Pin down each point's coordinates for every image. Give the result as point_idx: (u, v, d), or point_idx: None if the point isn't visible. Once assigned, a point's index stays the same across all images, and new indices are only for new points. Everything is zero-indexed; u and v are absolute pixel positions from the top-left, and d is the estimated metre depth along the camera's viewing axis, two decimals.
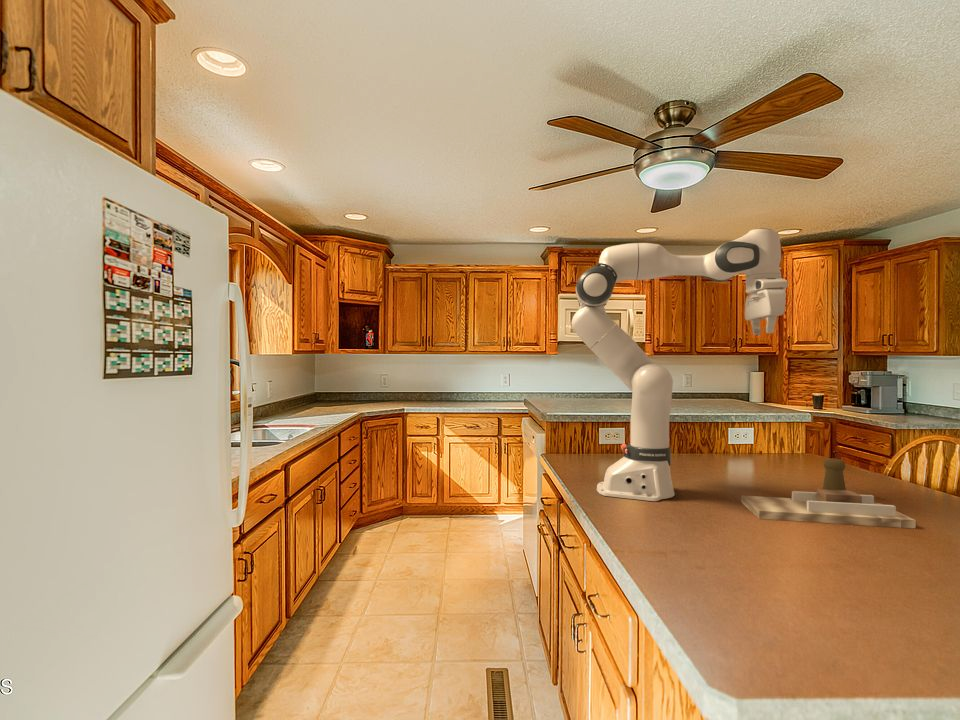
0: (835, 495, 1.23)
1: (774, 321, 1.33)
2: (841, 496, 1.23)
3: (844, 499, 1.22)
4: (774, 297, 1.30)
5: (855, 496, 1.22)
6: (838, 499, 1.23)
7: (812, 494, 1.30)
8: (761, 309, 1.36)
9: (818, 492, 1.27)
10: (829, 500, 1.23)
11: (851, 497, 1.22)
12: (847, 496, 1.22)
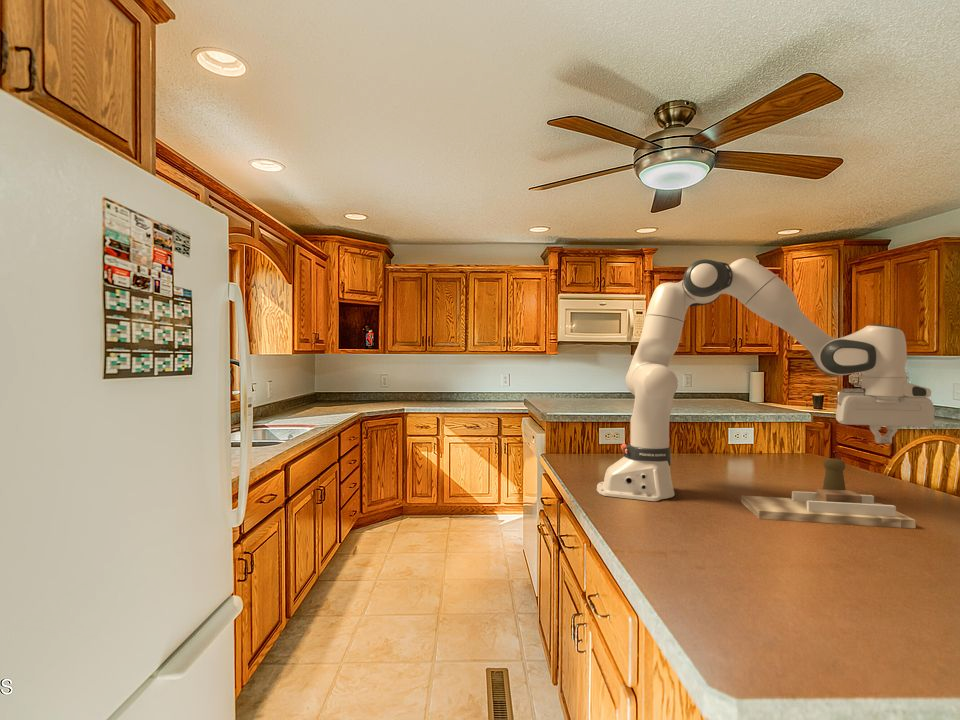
0: (835, 495, 1.23)
1: None
2: (841, 496, 1.23)
3: (844, 499, 1.22)
4: None
5: (855, 496, 1.22)
6: (838, 499, 1.23)
7: (812, 494, 1.30)
8: (905, 417, 1.20)
9: (818, 492, 1.27)
10: (829, 500, 1.23)
11: (851, 497, 1.22)
12: (847, 496, 1.22)
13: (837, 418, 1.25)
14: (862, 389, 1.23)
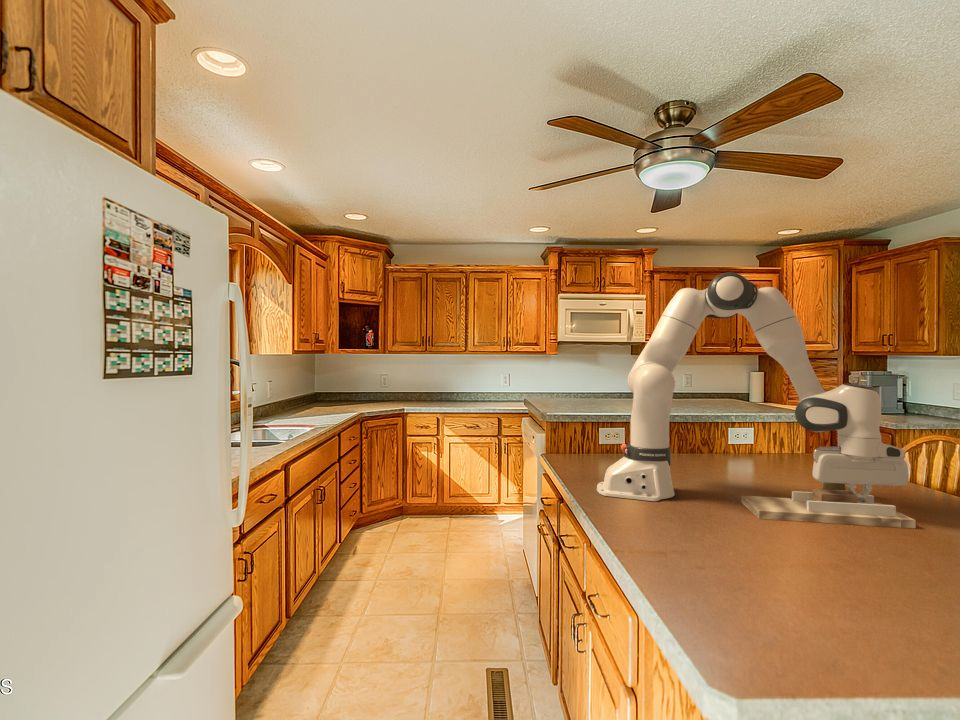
0: (830, 495, 1.23)
1: None
2: (836, 496, 1.23)
3: (839, 499, 1.23)
4: None
5: (850, 496, 1.22)
6: (833, 499, 1.23)
7: None
8: (880, 477, 1.21)
9: (814, 492, 1.27)
10: (825, 499, 1.23)
11: (846, 497, 1.22)
12: (842, 496, 1.23)
13: (813, 475, 1.27)
14: (838, 447, 1.25)
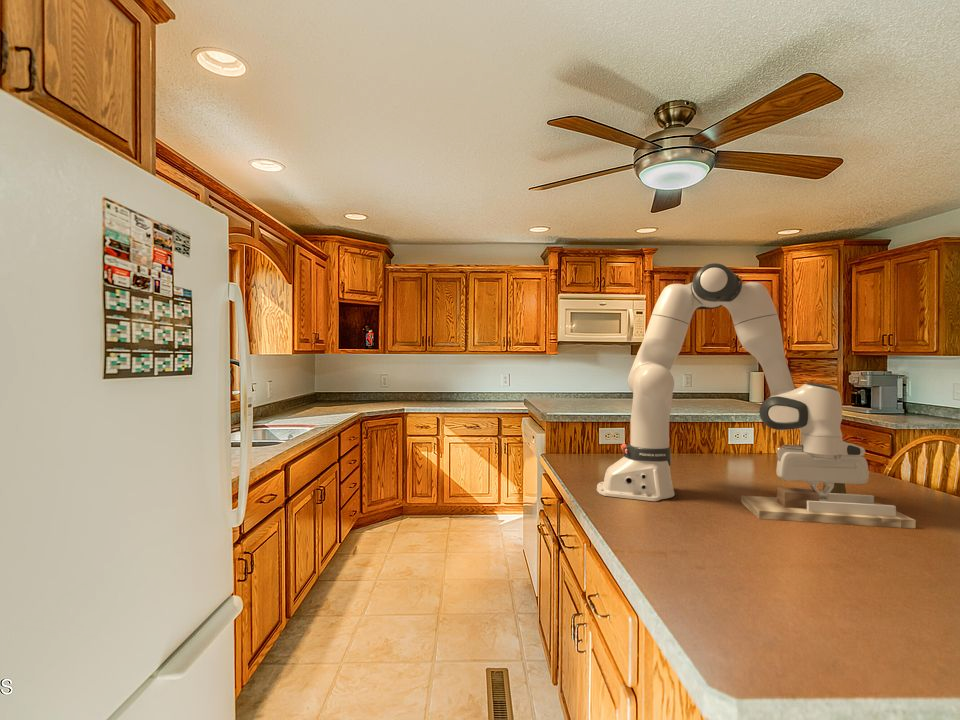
0: (793, 493, 1.25)
1: None
2: (799, 494, 1.25)
3: (802, 497, 1.24)
4: None
5: (813, 494, 1.24)
6: (796, 497, 1.25)
7: None
8: (841, 475, 1.23)
9: (778, 490, 1.29)
10: (788, 498, 1.25)
11: (809, 495, 1.24)
12: (805, 494, 1.24)
13: (777, 473, 1.28)
14: (800, 446, 1.26)
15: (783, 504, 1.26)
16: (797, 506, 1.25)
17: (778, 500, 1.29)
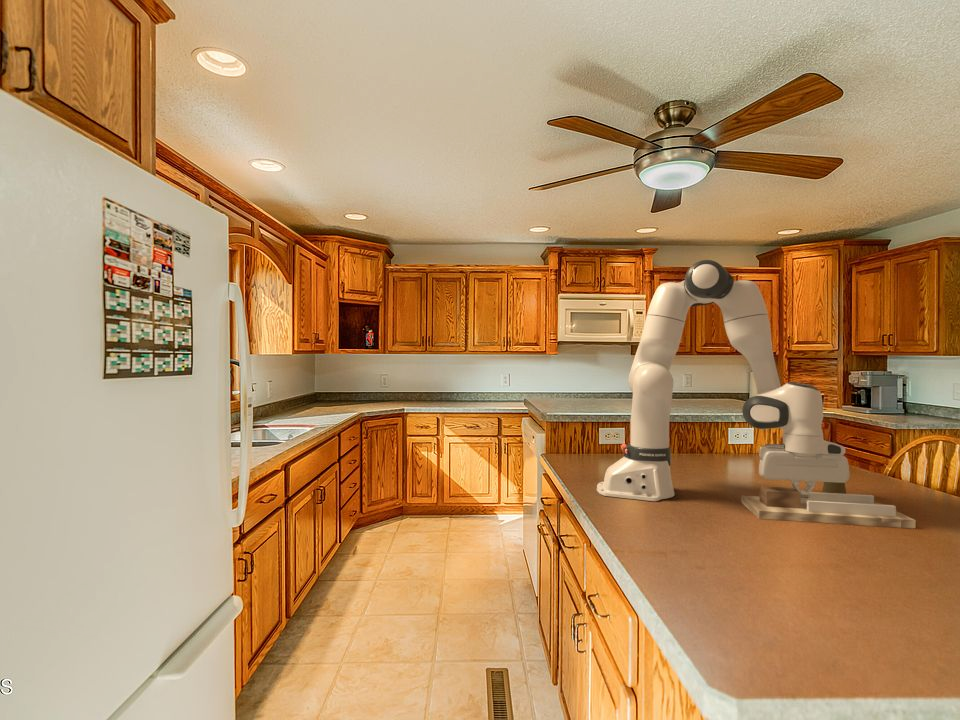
0: (775, 492, 1.26)
1: None
2: (781, 493, 1.25)
3: (784, 496, 1.25)
4: None
5: (794, 493, 1.25)
6: (778, 496, 1.25)
7: (812, 494, 1.30)
8: (822, 473, 1.24)
9: (760, 489, 1.30)
10: (770, 497, 1.26)
11: (790, 494, 1.25)
12: (787, 493, 1.25)
13: (759, 472, 1.29)
14: (782, 445, 1.27)
15: (765, 503, 1.27)
16: (779, 505, 1.25)
17: (761, 499, 1.30)
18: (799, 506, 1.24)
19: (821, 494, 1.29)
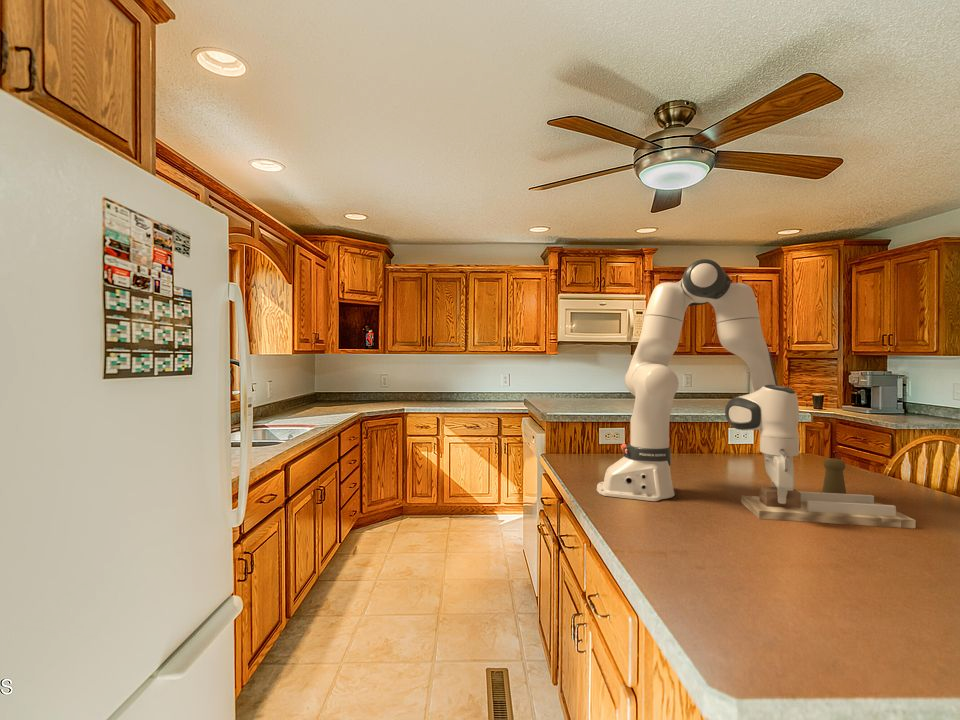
0: (775, 492, 1.26)
1: None
2: None
3: None
4: None
5: (794, 493, 1.25)
6: None
7: (812, 494, 1.30)
8: None
9: (760, 489, 1.30)
10: (770, 497, 1.26)
11: (790, 494, 1.25)
12: None
13: (783, 485, 1.19)
14: (784, 451, 1.23)
15: (765, 503, 1.27)
16: (779, 505, 1.25)
17: (760, 499, 1.30)
18: (799, 506, 1.24)
19: (821, 494, 1.29)
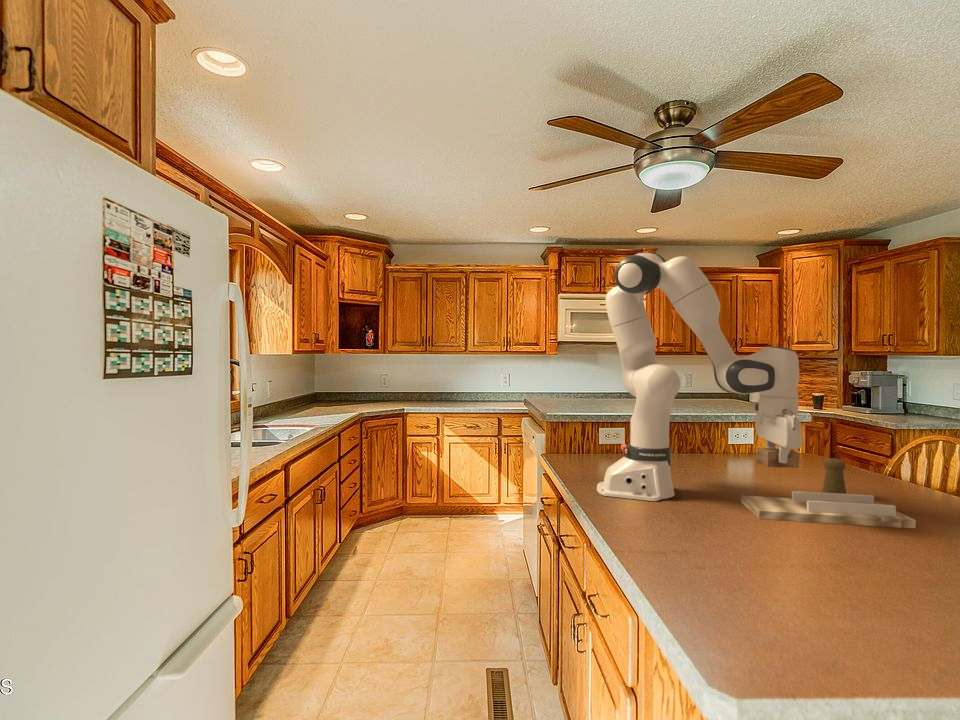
0: (776, 452, 1.26)
1: None
2: None
3: None
4: None
5: (793, 453, 1.26)
6: None
7: (812, 494, 1.30)
8: None
9: (759, 451, 1.30)
10: (771, 457, 1.26)
11: (790, 454, 1.26)
12: None
13: (791, 444, 1.18)
14: None
15: (766, 464, 1.26)
16: (779, 465, 1.26)
17: (759, 460, 1.30)
18: (797, 465, 1.26)
19: (821, 494, 1.29)
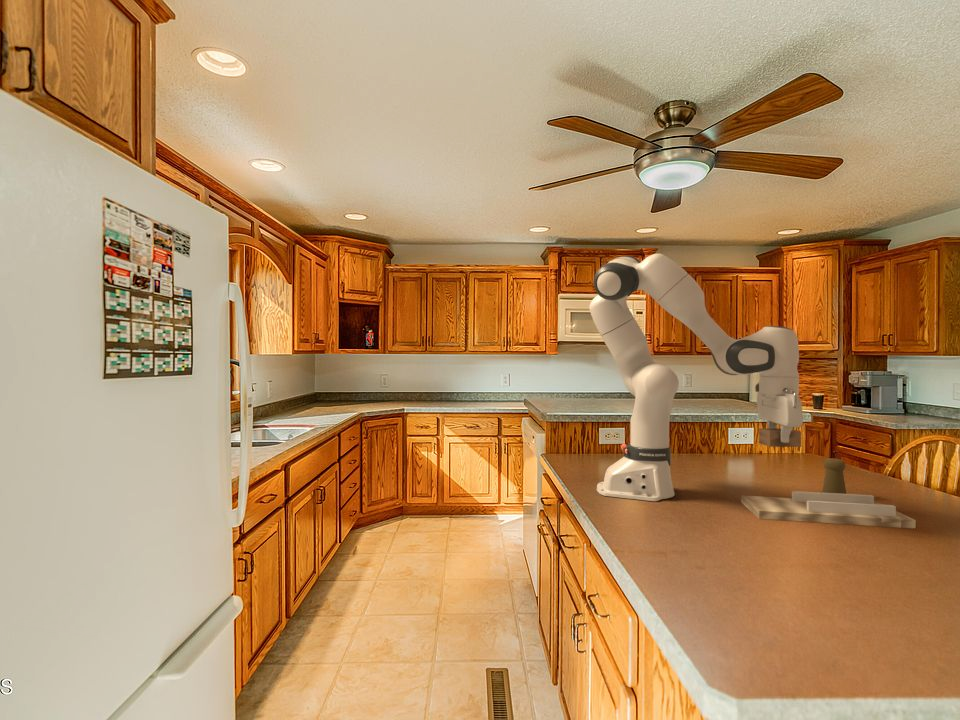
0: (778, 432, 1.25)
1: None
2: None
3: None
4: None
5: (795, 432, 1.25)
6: None
7: (812, 494, 1.30)
8: None
9: (760, 431, 1.29)
10: (773, 436, 1.25)
11: (792, 433, 1.25)
12: None
13: (792, 422, 1.18)
14: None
15: (768, 443, 1.26)
16: (781, 445, 1.25)
17: (761, 441, 1.29)
18: (799, 444, 1.25)
19: (821, 494, 1.29)
